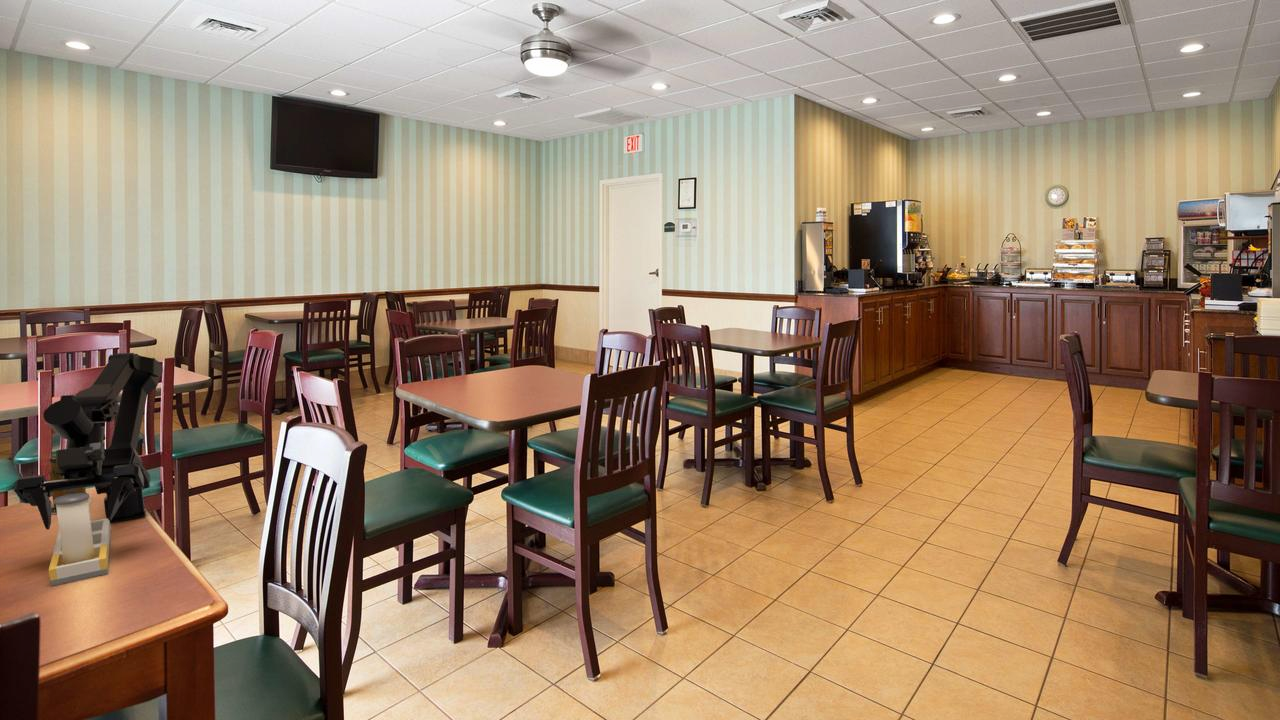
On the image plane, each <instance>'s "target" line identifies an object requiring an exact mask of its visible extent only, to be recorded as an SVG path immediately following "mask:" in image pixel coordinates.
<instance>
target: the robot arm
mask: <svg viewBox="0 0 1280 720" xmlns="http://www.w3.org/2000/svg"><path fill="white" fill-rule="evenodd" d="M163 371H164V369H163V365H162V363H161V362H160V361H158V359H156V358H154V357H148V356H142V355H139V354H138V353H134V352H119V353H116V352H115V353H113V354H110V355H109V356H108V359H107V363H106V365H105V366H104V367H103V369H102V370H101V372H100V373H99V375H98V376H97V378H96V379H95V380H94V382H93V384H92V385H91V386H89V387H87V388H85V389H82V390H80V391H78V392H77V393H76V394H66V395H61V396H60V399H59V400H57V401H54V402H53V403H51V404H50V405H49V406H48V407H47V408H46V409H45V410H44V411H43V419H44V421H45V422H46V423H47V425H49V427H50V428H51V429H52V430H53V431H54V432H55V433H56V434H57V436H59V437H60V438H61V439H64V440H66V442H65V443H66V445H65V449H57V450H56V451H55V456H56V468H59V474H60V476H63V479H62V480H54V481H50V480H49V481H48V480H47V479H46V477H45V475H44V474H38V475H29V476H22V477H19V478H18V479H17V480H16V481H15V482H14V486H13V492H14V494H16V496H17V497H18V499H19V500H20V502H22V503H23V504H28V505H30V506H31V507H37V509H38V512H39V514H40V517H41V520H42V523H43V525H44V528H45V530H50V528H51V524H52V514H51V507H52V505H53V501H51V499H50V498H51V495H52V491H58V490H66V489H74V488H82V487H85V488H89V487H94V488H95V491H96V494H97V495H102V494H106V497H104V498H103V505H104V513H105V519H106V518H108V520H110V524H112V523H118V522H123V521H124V522H125V521H129V520H134V519H140V518H144V517H146V506H145V503H144V502H145V501H144V496H143V490H145V489H149V488H150V487H151V484H150V483H151V475H150V473H149V472H148V470H147V469H146V468H145V467H144V466H143V461H142V458H141V457H140V455H139V454H138V452H137V447H138V442H139V439H140V433H141V427H142V423H143V418H144V413H145V409H146V403H147V397H148V395H149V394H151V392H153V391H154V390H155V389H156V388H157V387H158V385H159V381H160V379H161V377H162V376H163ZM119 395H121V396H120V401H119V403H118V397H119ZM115 418H116V419H115ZM114 419H115V423H114V427H113V431H112V436H111V441H110V445H109V446H108V447H107V448H105V447H104V441H106V438H107V437H106V436H105V432H104V431H105V430H104V427H102V426H101V425H100V424H101V423H111V422H112V421H114ZM99 423H100V424H99ZM144 509H145V510H144Z"/></svg>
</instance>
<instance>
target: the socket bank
mask: <svg viewBox="0 0 1280 720" xmlns="http://www.w3.org/2000/svg"><path fill="white" fill-rule="evenodd" d="M90 521H91V529H92V537H93V545H94V554H95V559H91V560H86V561H81V562H76V563H71V564H66V565H64V562H63V555H62V547H61V539H60V532H59V531H58V533H57V536H56V542H55V545H54V548H53V553H52V556H51V559H50V563H49V567H48V575H49V582H50V586H51V587H53V586H57V585H61V584H67V583H71V582H72V583H73V582H77V581H81V580H86V579H90V578H95V577H99V576H102V575H108V573H109V562H110V550H111V549H110V547H111V537H112V536H111V535H112V530H111V523H110V520H108V518H106V517H105V518H102V519H95V520H90Z"/></svg>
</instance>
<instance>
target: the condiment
mask: <svg viewBox="0 0 1280 720" xmlns="http://www.w3.org/2000/svg"><path fill="white" fill-rule="evenodd" d="M49 462H50V469H49V470H48V474H49V481H54V480H62V479H63V476H60V474H59V468H56V455H54V456H51V457H50V458H49ZM86 489H87V488H86V487H82V488H74V489H66V490H58V491H51V497H52V505H51V515H57V509H56V504H54V499H55V498H57V497H60V496H63V495H67V494H72V493H87V490H86ZM93 499H94V498H88V505H90V504H91V502H92V501H93ZM54 510H55V511H54Z"/></svg>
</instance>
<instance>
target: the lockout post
mask: <svg viewBox="0 0 1280 720" xmlns="http://www.w3.org/2000/svg"><path fill="white" fill-rule="evenodd" d="M88 499H90V493H88V492H86V493H72V494H67V495H63V496H60V497H57V498H55V499H54V504H56V509H57V514H56V515H57V516H56V517H57V523H58V532H60V539H61V547H62V555H63V562H64V565H66V564H71V563H76V562H81V561H86V560H91V559H95V554H94V545H93V537H92V529H91V521H92V520H91V514H90V506H89V505H90V504H89V505H88Z"/></svg>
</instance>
